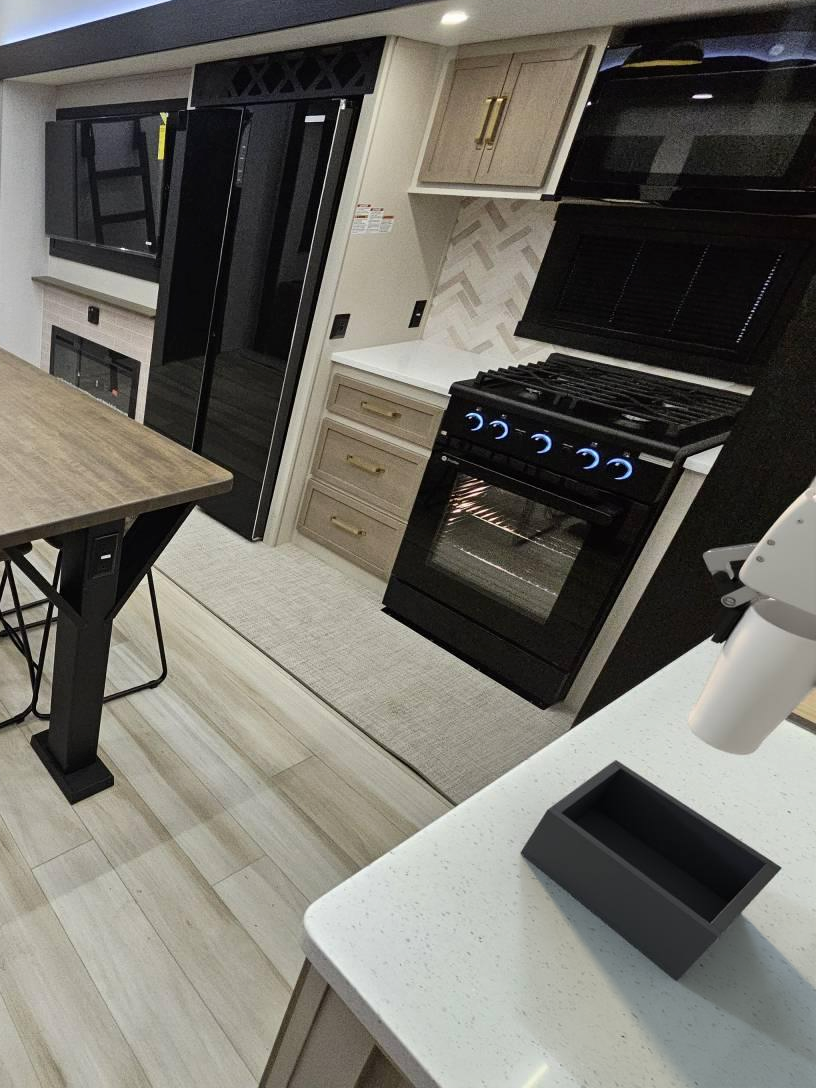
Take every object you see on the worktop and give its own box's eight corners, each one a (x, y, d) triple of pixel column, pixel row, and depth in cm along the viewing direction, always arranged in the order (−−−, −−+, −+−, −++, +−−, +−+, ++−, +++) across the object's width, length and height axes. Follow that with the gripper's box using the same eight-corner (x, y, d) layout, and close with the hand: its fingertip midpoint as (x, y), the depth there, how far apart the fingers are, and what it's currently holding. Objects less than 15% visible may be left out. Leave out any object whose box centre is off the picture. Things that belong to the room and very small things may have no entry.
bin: (587, 802, 72) (615, 759, 69) (740, 911, 62) (782, 867, 59) (519, 853, 66) (547, 809, 63) (676, 981, 57) (718, 937, 54)
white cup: (678, 701, 73) (751, 589, 66) (765, 737, 69) (853, 621, 62) (670, 735, 69) (747, 620, 62) (762, 776, 65) (857, 657, 58)
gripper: (1076, 538, 51) (921, 710, 59) (768, 449, 64) (678, 600, 73) (1051, 564, 48) (891, 742, 56) (733, 465, 61) (643, 621, 70)
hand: (772, 661), depth 64 cm, fingers closed on white cup, 6 cm apart
